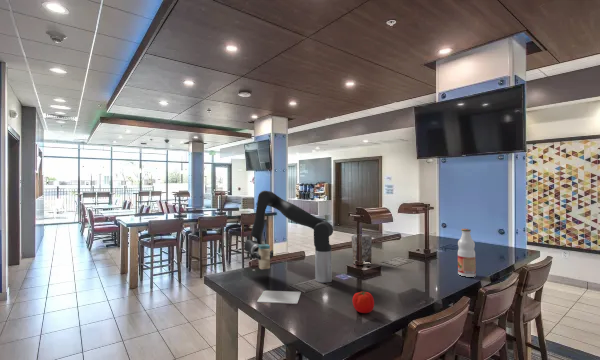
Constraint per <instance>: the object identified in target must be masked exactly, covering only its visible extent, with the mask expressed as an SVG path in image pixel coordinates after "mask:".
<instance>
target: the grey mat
mask: <svg viewBox="0 0 600 360" xmlns="http://www.w3.org/2000/svg"><path fill="white" fill-rule="evenodd" d="M301 295H302V292H301V291H287V290H286V291H285V290H283V291H282V290H264V291H263V292H262V294H261V295H260V296H259V298H258V299H257V301H256V303H265V304H267V303H268V304H285V305H286V304H288V305H289V304H291V305H292V304H293V305H297V304H298V302H299V300H300V297H301Z"/></svg>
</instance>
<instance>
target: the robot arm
mask: <svg viewBox="0 0 600 360" xmlns="http://www.w3.org/2000/svg"><path fill="white" fill-rule="evenodd" d="M268 206H269V207H271V208H274V209H276V210H277V211H278V212H280V213H281V214H282V215H283V216H284V217H285V218H287V219H288V220H290V221H291V222H293V223H295V224H298V225H301V226H304V227H308V228H310V229H311V230H313V245H314V248H315V249H314V250H315V251H314V252H315V253H314V254H315V257H314V258H315V260H314V261H315V266H314V267H315V270H314V271H315V272H314V273H315V274H314V275H315V277H314V278H315V282H317V283H323V284H324V283H326V284H327V283H332V279H333V278H332V277H333V276H332V275H333V273H332V272H333V271H332V270H333V269H332V267H333V266H332V245H331V244H330V237H331V236H332V235H333V233H334V228H333V226H332V224H331V223H330V222H328V221H325V220H323V219H321V218H319V217H316V216H314V215H312V214H311V213H310V212H308V211H306V210H304V209H303V208H301V207H300V206H297V205H296V204H294V203H291V202H289V201H287V200H285V199H283V198H282V197H280V196H279V195H277V194H275V192H272V191H270V190H262V191H260V192H259V193H258V196H257V201H256V209H255V215H254V221H253V224H252V228H251V231H250V236H251V237H253V238H254V239H256V240H252V239H247V240H245V242H244V245H243V247H244V248H243V249H244V250H245V251H246V252H247V253H248V256H249V258H251V259H252V260H255V259H256V260H258V261H259V260H261V256H260V255H259V246H258V245H262V237H263V232H264V228H265V221H266V220H265V218H266V217H265V215H266V210H267V208H268ZM273 257H274V250H273V249H272V250H271V249H270V260H271V259H273Z"/></svg>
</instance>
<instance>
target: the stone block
mask: <svg viewBox="0 0 600 360" xmlns="http://www.w3.org/2000/svg"><path fill="white" fill-rule="evenodd" d="M357 235H358V234H356V235H355V234H354V235H352V236H351V249H352V250H351V251H352V253H351V256H352V257H351V258H352V259H351V260H352V264H353V263H355V261H356V260H357ZM361 235H362V261H365V262H370V263H371V264H372V248H373V247H372V243H373V242H372V239H373V238H372V236H371V235H369V234H361Z"/></svg>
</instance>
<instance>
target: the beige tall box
mask: <svg viewBox="0 0 600 360" xmlns="http://www.w3.org/2000/svg"><path fill="white" fill-rule="evenodd" d="M258 246H259V255H260V256H261V260H259V259H258V268H259V269H260V270H269V269H271V259H270V251H271V246H270V245H269V244H268V243H265V244H264V243H263V244H262V243H261V245H258Z"/></svg>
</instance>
